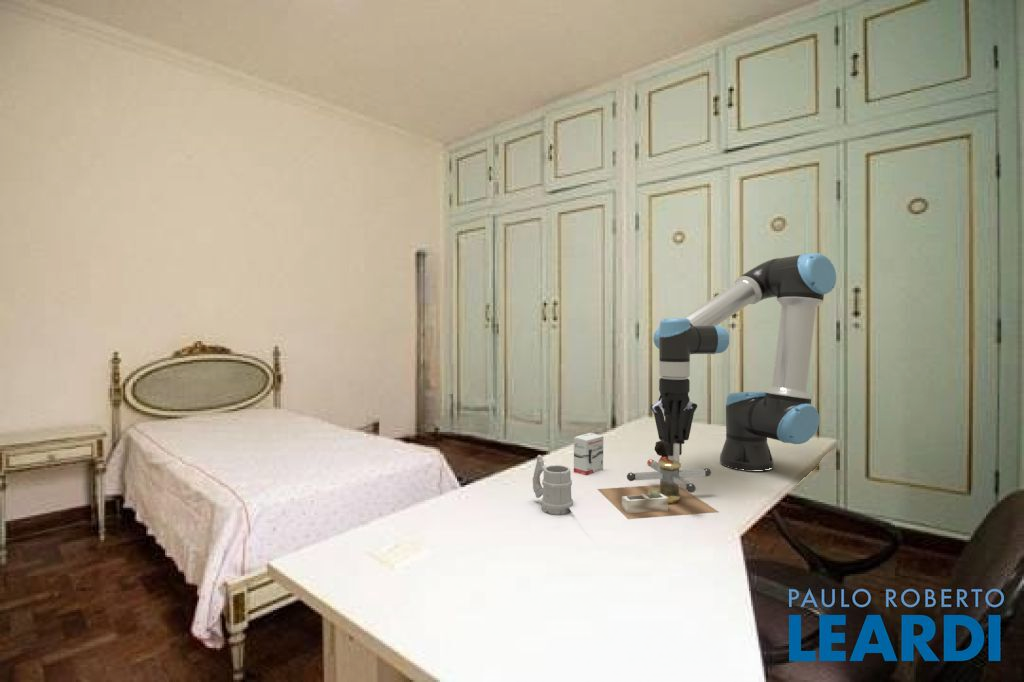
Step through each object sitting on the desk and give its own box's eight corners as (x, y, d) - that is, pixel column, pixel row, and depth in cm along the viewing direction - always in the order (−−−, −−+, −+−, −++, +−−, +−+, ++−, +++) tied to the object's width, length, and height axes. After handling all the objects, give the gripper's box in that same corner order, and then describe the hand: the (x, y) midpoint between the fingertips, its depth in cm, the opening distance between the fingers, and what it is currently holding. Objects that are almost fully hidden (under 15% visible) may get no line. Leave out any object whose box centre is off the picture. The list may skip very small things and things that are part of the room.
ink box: (586, 480, 138) (586, 439, 138) (573, 477, 142) (572, 436, 142) (604, 474, 144) (604, 434, 144) (590, 470, 148) (590, 432, 147)
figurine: (672, 486, 133) (672, 442, 133) (652, 482, 137) (652, 439, 136) (680, 480, 138) (680, 438, 138) (660, 476, 142) (660, 435, 141)
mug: (558, 518, 112) (558, 466, 111) (522, 504, 120) (522, 456, 120) (579, 509, 117) (579, 460, 116) (544, 497, 126) (543, 451, 125)
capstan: (687, 480, 132) (687, 447, 132) (737, 511, 110) (738, 471, 110) (610, 485, 128) (610, 451, 128) (647, 518, 107) (647, 476, 106)
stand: (675, 489, 130) (675, 468, 130) (719, 518, 111) (719, 493, 111) (597, 494, 127) (597, 472, 127) (628, 525, 107) (628, 499, 107)
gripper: (686, 375, 131) (685, 461, 132) (644, 377, 128) (643, 466, 128) (705, 378, 124) (704, 469, 125) (661, 380, 120) (660, 474, 121)
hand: (673, 467), depth 127 cm, fingers closed
